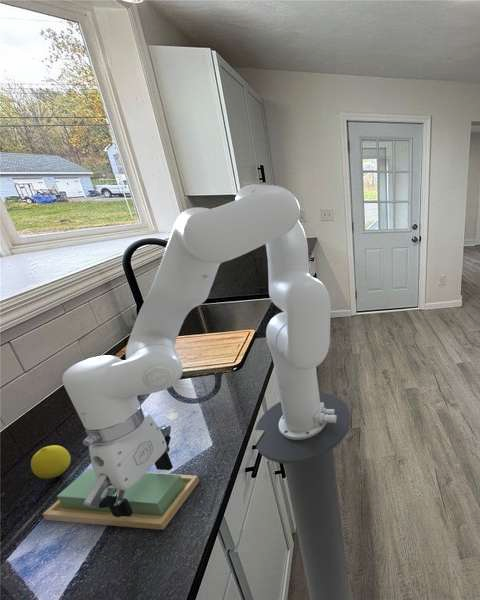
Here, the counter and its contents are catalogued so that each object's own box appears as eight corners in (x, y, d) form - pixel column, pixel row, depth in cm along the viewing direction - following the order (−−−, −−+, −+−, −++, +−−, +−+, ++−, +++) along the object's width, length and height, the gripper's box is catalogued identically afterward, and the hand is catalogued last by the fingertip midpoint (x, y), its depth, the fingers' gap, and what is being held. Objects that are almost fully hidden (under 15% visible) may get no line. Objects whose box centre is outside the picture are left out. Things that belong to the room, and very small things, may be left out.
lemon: (82, 462, 72) (69, 436, 69) (63, 484, 67) (47, 456, 64) (55, 466, 71) (39, 439, 68) (32, 488, 66) (15, 461, 63)
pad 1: (137, 484, 66) (131, 472, 65) (110, 512, 61) (104, 499, 59) (93, 480, 67) (87, 469, 66) (63, 508, 61) (56, 496, 60)
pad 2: (184, 487, 66) (180, 475, 64) (162, 516, 60) (157, 503, 59) (140, 483, 66) (135, 471, 65) (114, 512, 61) (107, 499, 59)
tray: (199, 481, 67) (197, 475, 67) (163, 530, 58) (160, 524, 57) (96, 473, 69) (94, 468, 69) (45, 519, 60) (42, 514, 59)
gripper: (87, 465, 47) (124, 538, 54) (173, 392, 63) (194, 455, 70) (42, 462, 48) (84, 534, 54) (138, 390, 64) (162, 452, 70)
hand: (146, 489), depth 62 cm, fingers open, 9 cm apart
